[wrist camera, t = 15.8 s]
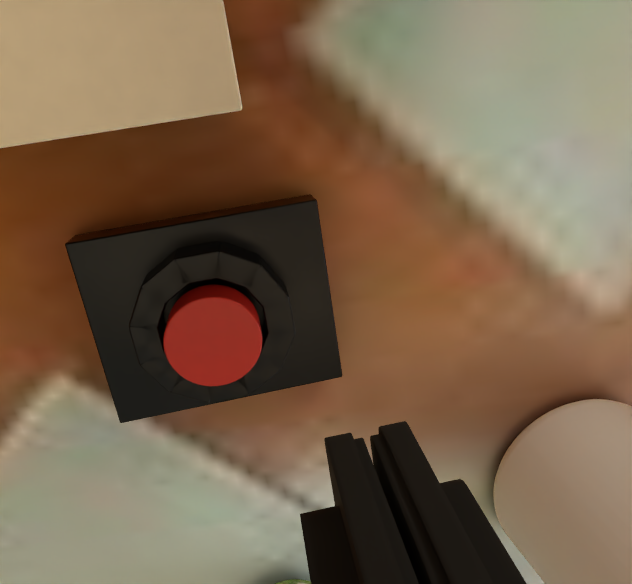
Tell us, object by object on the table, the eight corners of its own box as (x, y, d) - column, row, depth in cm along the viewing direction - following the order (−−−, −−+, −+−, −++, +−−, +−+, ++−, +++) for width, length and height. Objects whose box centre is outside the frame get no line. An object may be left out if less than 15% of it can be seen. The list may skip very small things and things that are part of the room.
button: (178, 376, 25) (175, 395, 23) (157, 293, 23) (152, 307, 22) (267, 358, 25) (270, 376, 23) (250, 275, 24) (252, 288, 22)
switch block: (125, 405, 28) (113, 445, 25) (74, 235, 25) (51, 254, 22) (336, 362, 29) (350, 394, 26) (311, 193, 26) (323, 206, 23)
